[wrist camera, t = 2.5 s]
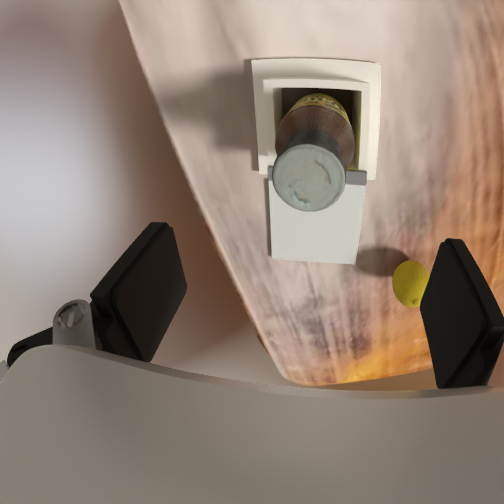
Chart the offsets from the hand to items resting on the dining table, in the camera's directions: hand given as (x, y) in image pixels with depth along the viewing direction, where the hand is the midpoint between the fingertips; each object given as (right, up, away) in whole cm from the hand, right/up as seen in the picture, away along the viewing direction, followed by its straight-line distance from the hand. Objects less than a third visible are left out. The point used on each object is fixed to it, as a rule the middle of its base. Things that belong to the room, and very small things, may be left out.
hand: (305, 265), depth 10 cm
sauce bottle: (+6, +16, +21) cm, 27 cm away
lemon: (+21, -1, +30) cm, 36 cm away
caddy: (+6, +16, +21) cm, 27 cm away
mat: (+7, +4, +29) cm, 30 cm away
